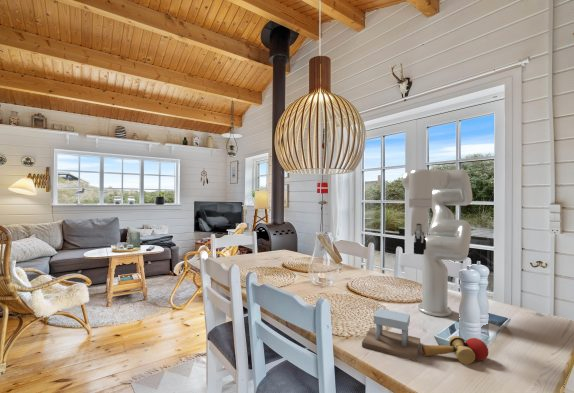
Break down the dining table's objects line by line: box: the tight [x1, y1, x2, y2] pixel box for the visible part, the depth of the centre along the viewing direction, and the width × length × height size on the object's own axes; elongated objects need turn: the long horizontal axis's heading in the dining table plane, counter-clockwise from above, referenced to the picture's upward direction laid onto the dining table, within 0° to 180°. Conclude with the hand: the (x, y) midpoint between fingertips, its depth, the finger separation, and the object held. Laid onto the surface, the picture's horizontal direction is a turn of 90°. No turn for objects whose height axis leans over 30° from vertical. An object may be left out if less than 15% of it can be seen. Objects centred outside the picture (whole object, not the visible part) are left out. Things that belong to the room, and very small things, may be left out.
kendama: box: [421, 335, 489, 365], centre depth 87 cm, size 8×6×18 cm
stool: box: [373, 308, 411, 347], centre depth 94 cm, size 10×7×8 cm
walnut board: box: [361, 326, 421, 362], centre depth 94 cm, size 12×16×2 cm
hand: (420, 251), depth 104 cm, fingers open, 9 cm apart
